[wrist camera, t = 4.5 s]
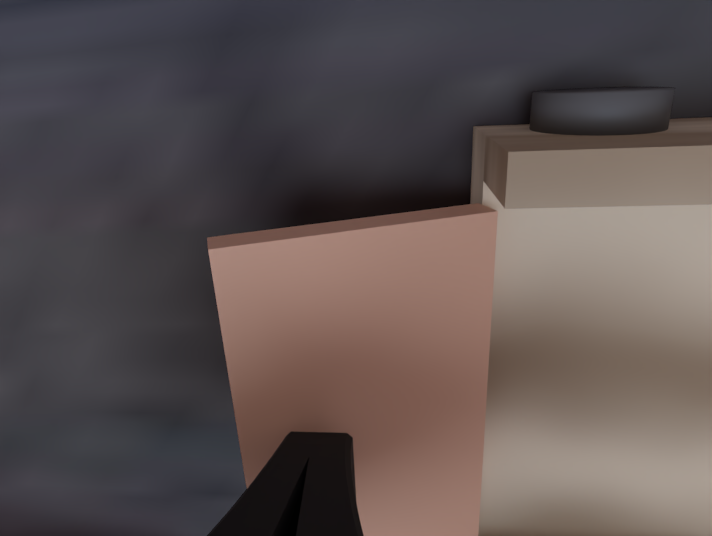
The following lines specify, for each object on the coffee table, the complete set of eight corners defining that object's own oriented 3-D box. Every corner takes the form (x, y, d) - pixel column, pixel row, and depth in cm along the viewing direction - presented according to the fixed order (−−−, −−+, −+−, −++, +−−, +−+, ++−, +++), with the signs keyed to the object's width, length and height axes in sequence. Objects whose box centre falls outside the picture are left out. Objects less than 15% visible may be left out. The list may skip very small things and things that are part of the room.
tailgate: (497, 210, 11) (208, 249, 9) (477, 550, 14) (267, 620, 13) (478, 203, 11) (206, 237, 10) (463, 528, 15) (263, 591, 13)
